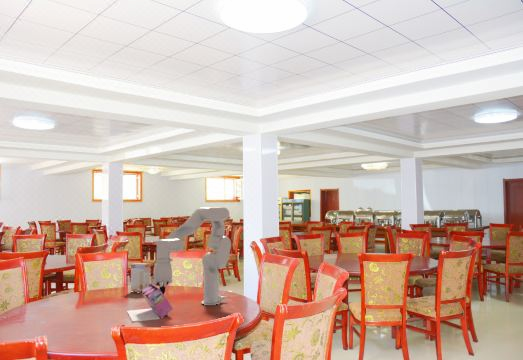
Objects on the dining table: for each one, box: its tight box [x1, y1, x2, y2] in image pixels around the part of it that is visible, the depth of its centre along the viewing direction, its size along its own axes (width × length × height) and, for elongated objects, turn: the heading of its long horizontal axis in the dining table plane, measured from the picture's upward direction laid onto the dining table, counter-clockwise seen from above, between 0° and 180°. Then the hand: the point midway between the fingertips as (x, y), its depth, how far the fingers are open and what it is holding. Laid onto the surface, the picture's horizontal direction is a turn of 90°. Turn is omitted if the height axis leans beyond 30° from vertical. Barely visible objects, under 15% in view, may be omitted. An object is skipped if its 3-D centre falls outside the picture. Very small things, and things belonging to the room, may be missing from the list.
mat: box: [126, 307, 161, 323], centre depth 233 cm, size 14×26×1 cm, turn 24°
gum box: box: [140, 283, 174, 319], centre depth 236 cm, size 24×8×14 cm
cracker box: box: [130, 262, 151, 294], centre depth 302 cm, size 14×6×21 cm, turn 58°
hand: (162, 293), depth 238 cm, fingers closed
